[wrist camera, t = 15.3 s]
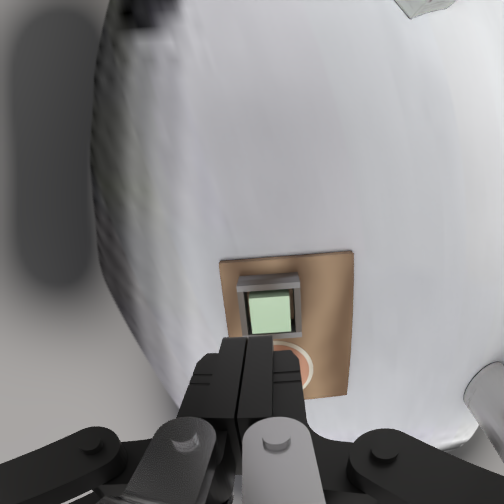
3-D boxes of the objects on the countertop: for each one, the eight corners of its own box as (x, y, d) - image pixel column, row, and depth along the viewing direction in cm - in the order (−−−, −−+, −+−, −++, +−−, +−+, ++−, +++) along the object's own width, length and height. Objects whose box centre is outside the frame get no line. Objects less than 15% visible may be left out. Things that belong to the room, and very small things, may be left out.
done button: (288, 286, 30) (289, 295, 28) (289, 320, 31) (291, 331, 29) (250, 289, 31) (248, 298, 28) (253, 322, 32) (252, 333, 29)
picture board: (351, 250, 31) (361, 261, 28) (345, 390, 36) (351, 409, 32) (220, 260, 33) (213, 272, 29) (239, 397, 37) (236, 418, 33)
